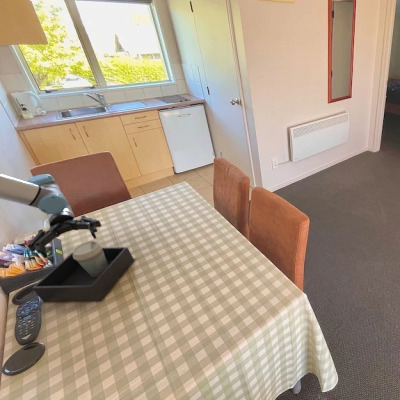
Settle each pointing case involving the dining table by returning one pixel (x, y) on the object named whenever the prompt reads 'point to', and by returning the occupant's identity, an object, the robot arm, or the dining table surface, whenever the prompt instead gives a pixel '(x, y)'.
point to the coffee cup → (91, 258)
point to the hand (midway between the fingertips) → (69, 244)
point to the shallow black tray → (83, 278)
